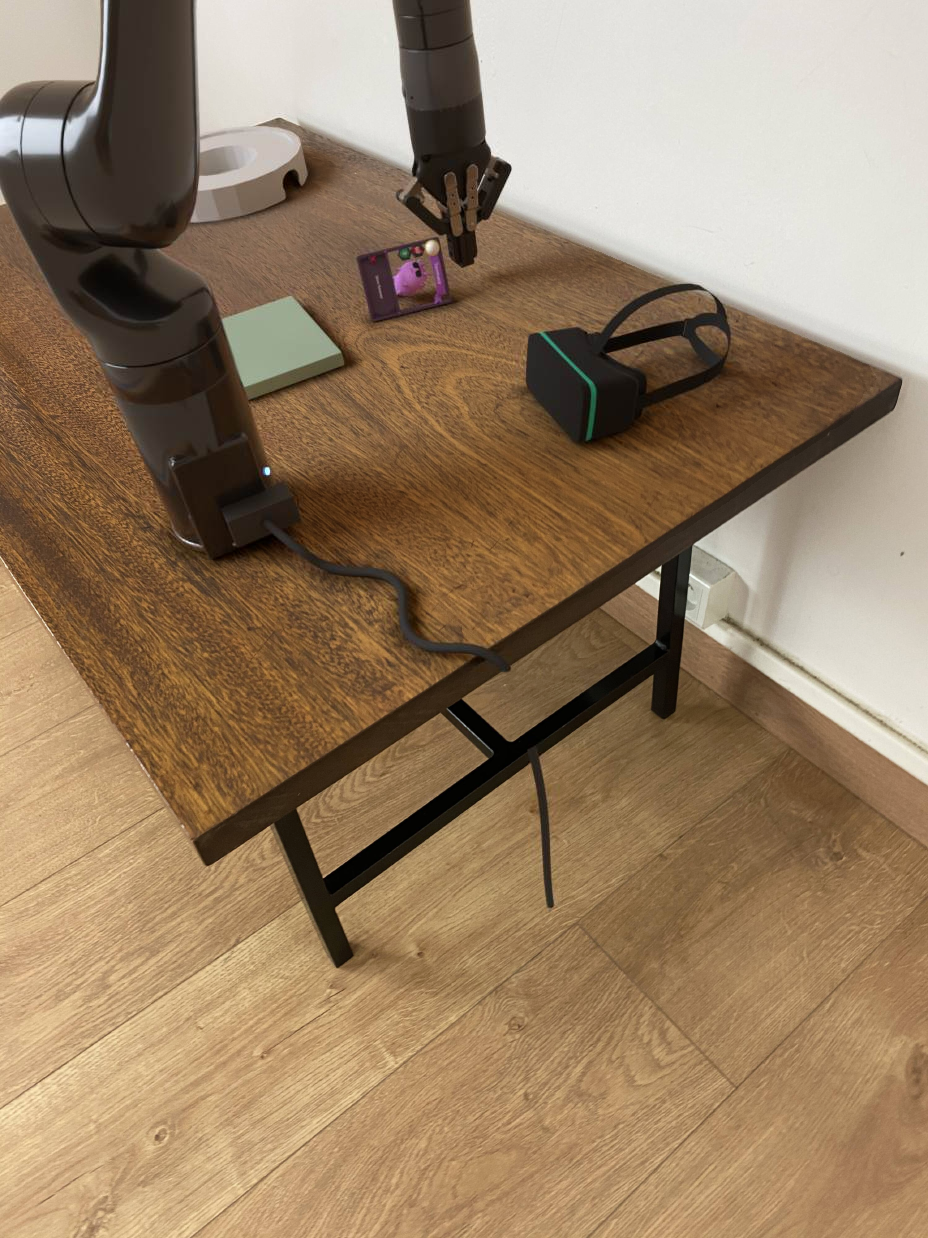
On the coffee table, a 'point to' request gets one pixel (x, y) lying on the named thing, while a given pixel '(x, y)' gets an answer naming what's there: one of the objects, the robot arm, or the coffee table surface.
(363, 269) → the game card
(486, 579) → the coffee table surface
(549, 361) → the virtual reality headset
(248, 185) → the white notched ring
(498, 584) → the coffee table surface
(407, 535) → the coffee table surface
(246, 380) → the notebook
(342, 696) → the coffee table surface
